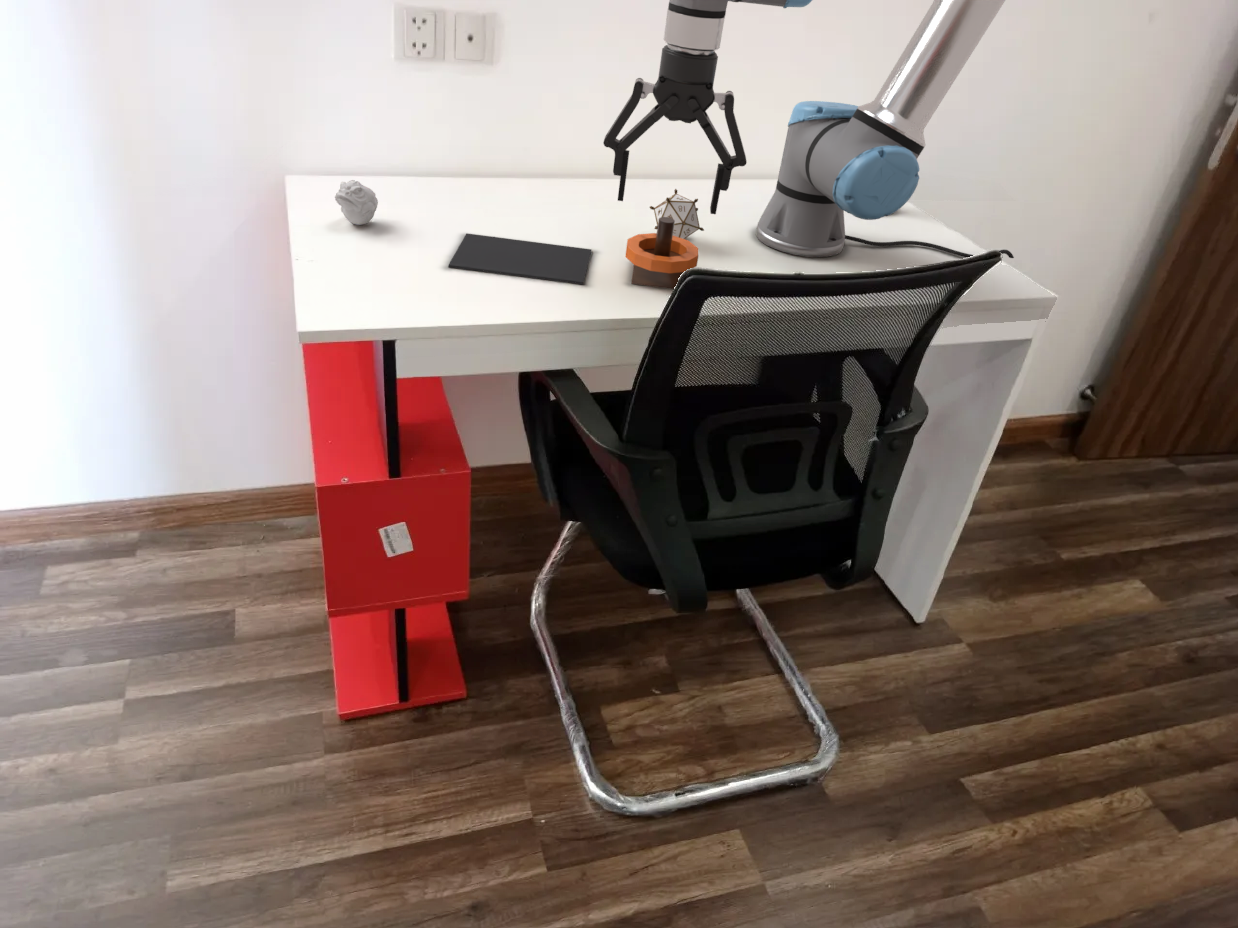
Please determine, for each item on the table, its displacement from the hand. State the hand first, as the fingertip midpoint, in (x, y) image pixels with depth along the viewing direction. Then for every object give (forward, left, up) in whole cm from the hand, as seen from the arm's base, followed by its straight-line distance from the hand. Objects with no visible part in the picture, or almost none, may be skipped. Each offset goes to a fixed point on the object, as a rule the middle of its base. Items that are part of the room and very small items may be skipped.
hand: (666, 204), depth 132 cm
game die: (-2, -16, -12) cm, 20 cm away
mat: (+21, 0, -11) cm, 24 cm away
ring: (0, 0, -8) cm, 8 cm away
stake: (0, 0, -11) cm, 11 cm away
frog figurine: (+48, -6, -12) cm, 49 cm away
